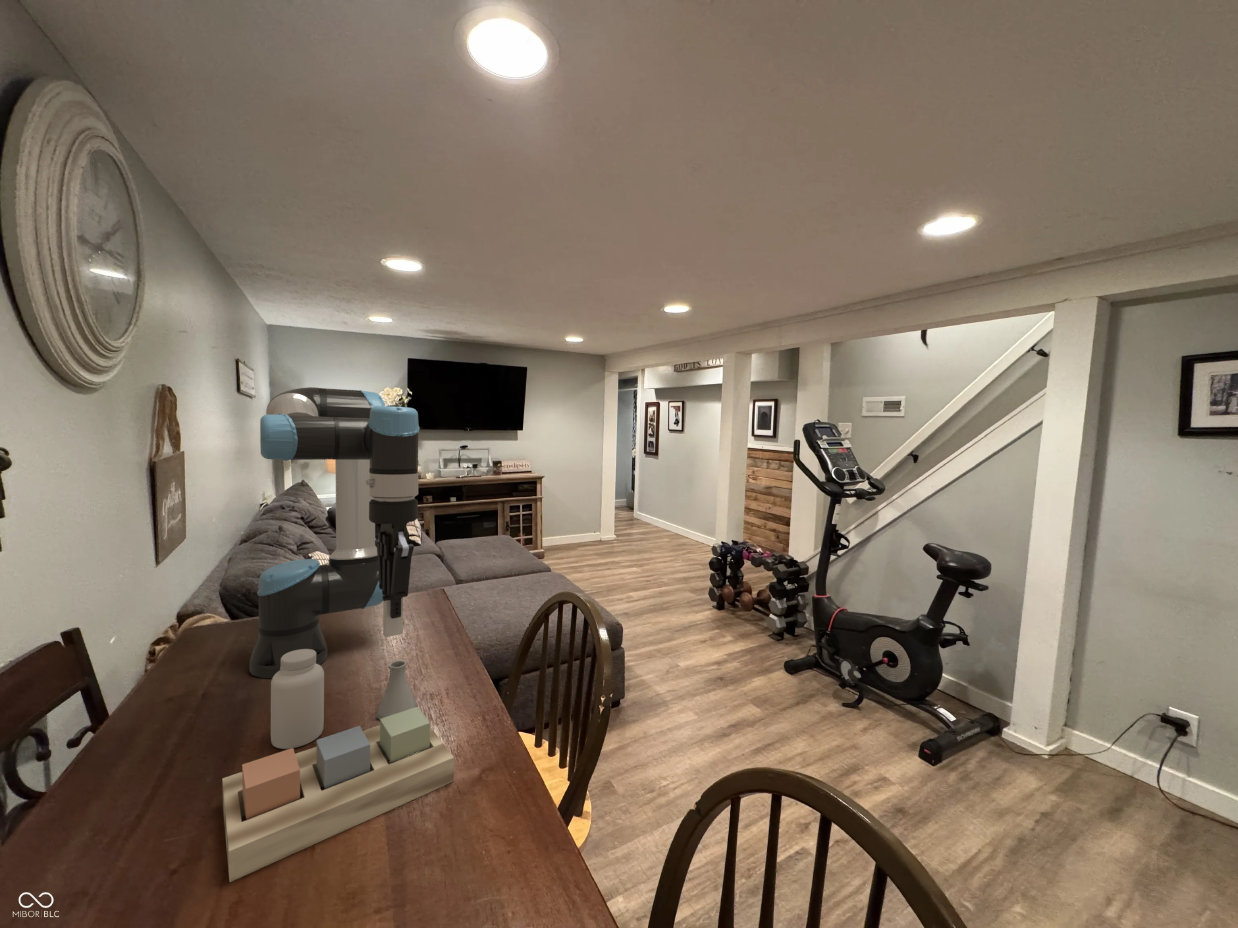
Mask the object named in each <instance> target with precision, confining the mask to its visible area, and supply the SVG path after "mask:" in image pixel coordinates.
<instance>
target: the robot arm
mask: <svg viewBox="0 0 1238 928" xmlns="http://www.w3.org/2000/svg"><path fill="white" fill-rule="evenodd" d="M259 420H260V422H259V425H260V427H259V428H260V429H259V430H260V433H259V436H260V441H259V443H260V455H261V457H263V458H264V459H265V460H277V461H278V460H279V461H280V460H281V461H285V462H287V461H293V460H298V461H299V460H300V461H301V460H303V461H304V460H306V461H307V460H309V461H311V460H312V461H313V460H314V461H315V460H320V461H321V460H334V461H335V463H334V464H335V543H336V546H335V547H336V548H335V550H334V551H333V552H332V553H331V554H330V555H328V563H327V564H320V562H319V560H318V559H316V558H301V559H295V560H290V561H286V562H282V563H279V564H276V565H274V566H271V567H269V568H267V569H265V570H264V571H263V572H262V573H261V574H260V576H259V579H258V590H257V596H258V636H257V639H256V642H255V645H254V647H253V650H252V652H251V656H250V658H249V662H248V663H249V664H248V665H249V673H250V674H251V676H254V677H258V678H262V679H272V678H273V676H274V675H275V674H276V673H277V672H278V671H280V667H281V657H282V656H283V655H285V654H286V653H288V652H291V651H295V650H300V649H311V650H314V651H315V652H316V664H318V665H320V666H321V665H322V664H323V663H324V662H325V661H326V660H327V658H328V645H327V642H326V640H325V637H324V635H323V632H322V630H321V628H320V616H322V615H328V614H332V613H333V614H335V613H339V612H346V611H352V610H353V611H354V610H359V609H360V610H364V609H366V608H370V607H375V606H378V605H381V604H382V603H383V605H382V606H383V607H382V608H383V609H382V610H383V615H382V616H383V617H382V620H383V623H382V624H383V625H382V626H383V627H382V629H383V631H382V635H383V636H384V637H385V638H389V637H394V636H399V635H403V632H404V631H403V630H404V629H403V626H404V625H403V624H404V623H403V622H404V598H407V597H408V595H409V586H410V575H411V566H412V557H413V553H414V549H415V546H414V544H413V543H409V542H410V533H409V531H408V527H407V525H408V523H413V522H414V521H416V520H417V519H418V514H419V513H418V511H419V508H418V506H419V505H418V503H419V502H418V499H417V498H416V496H418V495H419V469H418V468H419V432H420V426H419V425H420V424H419V414H418V410H416V409H415V408H413V407H404V406H393V405H392V406H387V405H386V404H385V401H384V400H383V397H382V396H381V395H380V394H379V393H377V392H373V391H366V390H362V389H361V390H360V389H359V390H357V389H341V388H324V387H315V386H314V387H300V388H294V389H289V390H286V391H283V392H281V393H279V394H277V395H276V396H274V397H273V398H271V399H270V401H269V402H268V404H267V407H266V410H265V415H262V417H260V419H259ZM378 524H379V525H380V531H378V532H377V533H376V525H378Z"/></svg>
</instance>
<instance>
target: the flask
mask: <svg viewBox="0 0 1238 928" xmlns="http://www.w3.org/2000/svg"><path fill="white" fill-rule="evenodd" d="M407 665H408V661H406V660H404V659H396V660H394V661H390V663H389V664H388V665H387V668H388V669H389V678H388V683H387V687H386V689H385V692H384V694H383V697H382V699H381V703H380V704H379V705H380V706H379V707H378V710H377V713H376V716H375V719H378V720H380V719H381V718H384V717H387V716H390V715H393V714H396V713H400V712H403V711H406V710H409V709H412V708H415V707H418V708H419V706H418V703H417V701H416V699H415V696H414V694H413V692H412V689H411V687H410V683H409V682H408V678H407V674H406V673H407V672H406V667H407Z"/></svg>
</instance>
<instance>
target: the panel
mask: <svg viewBox="0 0 1238 928" xmlns="http://www.w3.org/2000/svg"><path fill="white" fill-rule="evenodd" d="M363 732H364V734H365V736H366V738H367V739H368V741H369V743H370V771H369V772H366V773H364V774H361V775H358V776H356V777H353V778H351V779H348V780H346V781H343V782H341V783H338V784H335V785H333V786H330V787H328V788H324V789H323V790H322V789H321V787H324V786H323V783H322V780H321V777H320V775H319V772H318V769H317V746H314V747H312V748H309V749H306V750H305V749H304V750H302V751H299V752H297V753H295V756H296V759H297V762H298V765H299V768H300V799H297V800H295V801H292V802H289V803H287V804H284V805H282V806H279V807H277V808H274V809H272V810H269V811H267V812H264V813H261V814H259V815H256V816H254V817H251V818H249V819H246V820H243V821H242V818H243V817H246V815H245V808H244V801H243V794H242V771H241V772H238V773H237V772H236V773H235V774H232V775H229V776H226V777H223V778H222V785H221V786H222V812H223V813H222V814H223V824H224V825H223V826H224V836H225V846H226V857H227V858H226V859H227V868H228V869H227V870H228V880H229V883H232V882H234V881H236V880H239V879H241V878H242V877H243V878H244V876H245V877H246V876H247V875H249V874H251V873H254V872H256V871H258V870H261V869H262V868H265V867H267V866H269V865H272V864H273V863H276V862H279V861H280V860H283V859H285V858H287V857H289V856H291V855H294V854H296V853H298V852H300V851H302V850H304V849H307V848H309V847H312V846H314V845H316V844H318V843H321V842H322V841H324V840H326V839H329V838H332V837H334V836H336V835H338V834H340V833H342V832H344V831H347V830H349V829H351V828H354V827H355V826H358V825H360V824H362V823H364V822H367V821H369V820H371V819H374V818H376V817H378V816H381V815H382V814H384V813H387V812H389V811H391V810H393V809H396V808H398V807H400V806H402V805H405V804H407V803H408V802H411V801H413V800H415V799H417V798H420V797H423V796H424V795H426V794H429V793H430V792H433V791H436V790H437V789H440V788H442V787H444V786H445V787H446V786H447V785H448V784H451V783H453V782H454V781H455V776H454V775H455V756H454V755H453V753H451V751H450V750H449V749H448V748H447V746H446V745H445V744H444V742H443V741H442V740H441V739H440V737H439V736H438V735H437V734H436V732H435V731H434V730H433V729H432V727H431V726H430V748H427V749H425V750H422V751H420V752H417V753H415V754H412V755H410V756H407V757H404V758H402V759H399V760H397V761H394V762H392V763H391V762H390V763H388V761H390V760H389V758H388V757H387V755H386V753H385V752H384V750H383V748H382V746H381V745H380V724H379V725H376V726H374V727H370V728H366V729H365V730H363Z"/></svg>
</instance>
